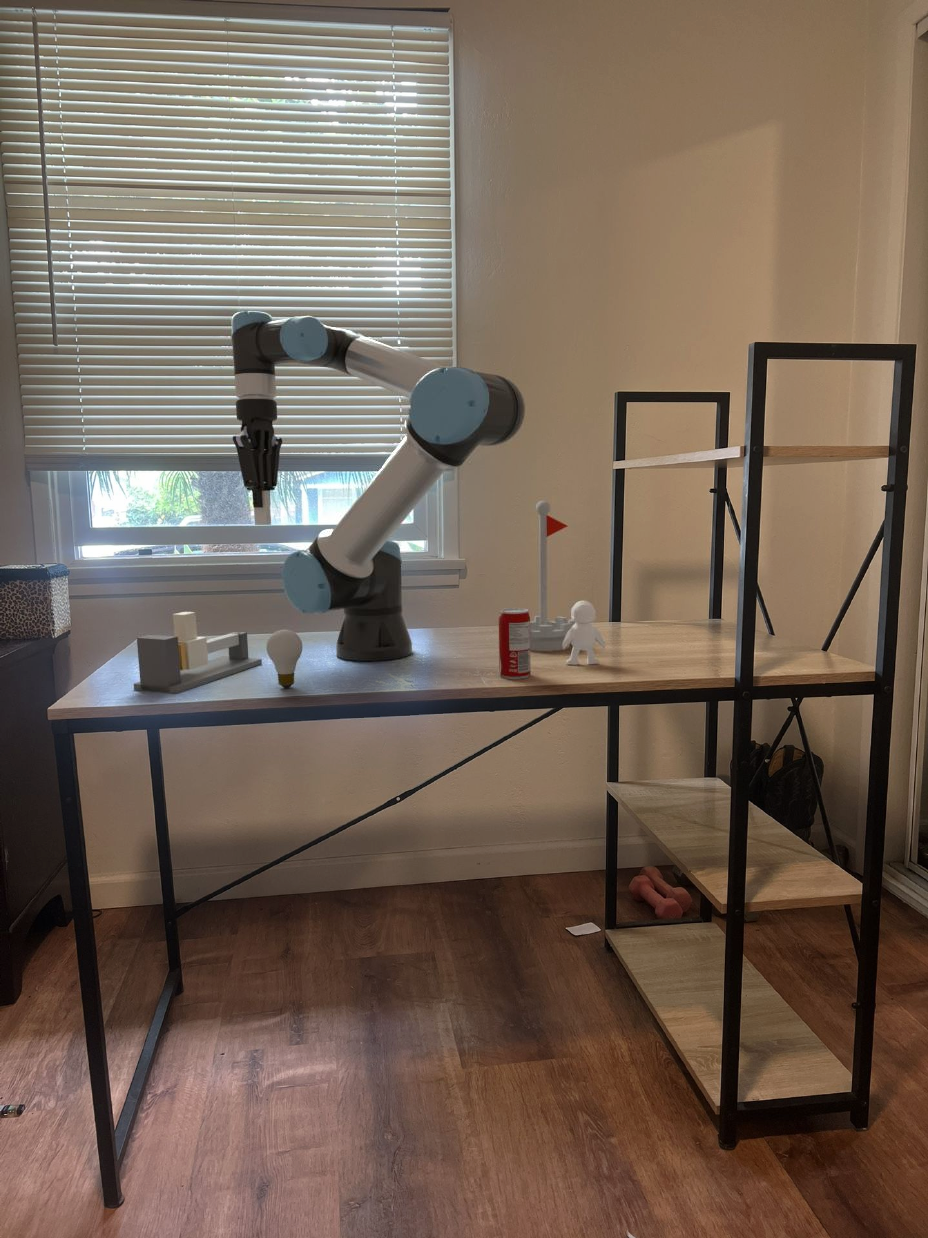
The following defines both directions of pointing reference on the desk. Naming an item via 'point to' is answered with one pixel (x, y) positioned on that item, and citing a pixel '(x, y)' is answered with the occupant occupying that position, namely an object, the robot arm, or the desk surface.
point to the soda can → (514, 643)
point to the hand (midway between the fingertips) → (262, 524)
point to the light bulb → (284, 654)
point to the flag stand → (541, 630)
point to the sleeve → (190, 639)
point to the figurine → (583, 633)
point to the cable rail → (168, 662)
